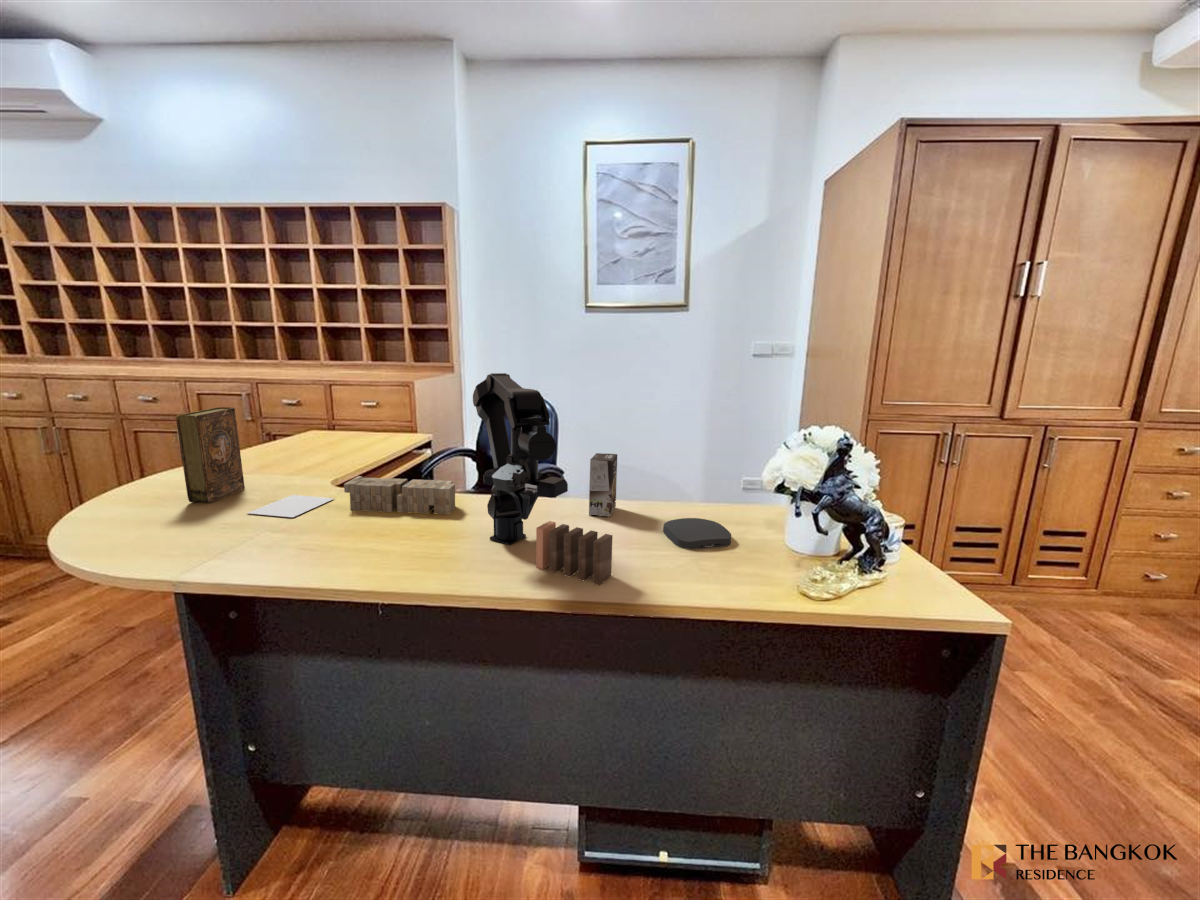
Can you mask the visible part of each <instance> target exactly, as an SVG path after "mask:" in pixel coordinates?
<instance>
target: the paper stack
mask: <svg viewBox="0 0 1200 900" xmlns="http://www.w3.org/2000/svg"><path fill="white" fill-rule="evenodd" d="M335 499H336V498H334V497H323V496H322V497H321V496H313V495H312V496H309V495H299V494H291V495H289V496H286V497H283V498H281V499H279V500H276V501H273V502H271V503H269V504H267V505H263V506H261V507H259V508H256V509H253V510H251V511H248V512H247V514H250V515H261V516H271V517H272V516H274V517H283V518H295V517H298V516H299V515H302V514H303V513H306V512H308V511H311V510H312V509H315V508H317V507H319V506H321V505H323V504H326V503H328V502H330V501H332V500H335Z"/></svg>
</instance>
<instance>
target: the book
mask: <svg viewBox="0 0 1200 900" xmlns="http://www.w3.org/2000/svg"><path fill="white" fill-rule="evenodd" d="M175 420H176V428H177V434H178V441H179V446H180V447H179V448H180V455H181V462H182V469H183V475H184V476H183V477H184V481H185V488H186V489H185V490H186V493H187V494H186V495H187V500H188V502H189V503H197V502H203V503H204V502H205V503H207V504H211V503H214V502H216V501H220V500H221V498H222V499H223V497H224V498H226V497H228V495H229V496H231V495H233V494H235V493H234V492H236V493H238V492H240V491H242V490H241V489H243V488H245V479H244V472H243V471H244V470H243V463H242V456H241V449H240V447H241V446H240V441H239V432H238V424H237V418H236V408H235V407H229V406H221V407H220V406H219V407H212V408H208V409H202V410H197V411H191V412H190V411H189V412H186V413H181V414H177V415H176V417H175ZM245 489H246V488H245ZM239 490H240V491H239ZM243 490H244V489H243ZM237 491H238V492H237ZM232 493H233V494H232ZM230 494H231V495H230ZM225 496H226V497H225Z"/></svg>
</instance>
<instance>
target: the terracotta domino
mask: <svg viewBox="0 0 1200 900" xmlns="http://www.w3.org/2000/svg"><path fill="white" fill-rule="evenodd" d="M556 527H557V523H556V522H555V521H551V520H549V521H546V522H545V523H543V524H541V525H539V526H538V527H536V530H535V531H536V533H535V534H536V536H535V537H536V538H535V539H536V540H535V541H536V542H535V543H536V546H535V547H536V549H535V551H536V553H535V554H536V557H535V558H536V563H535V564H536V566H535V567H536V569H537V568H538V569H541V570H544V569H546V568H547V567H548V566H550V531H551V530H553V529H555V528H556Z"/></svg>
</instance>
